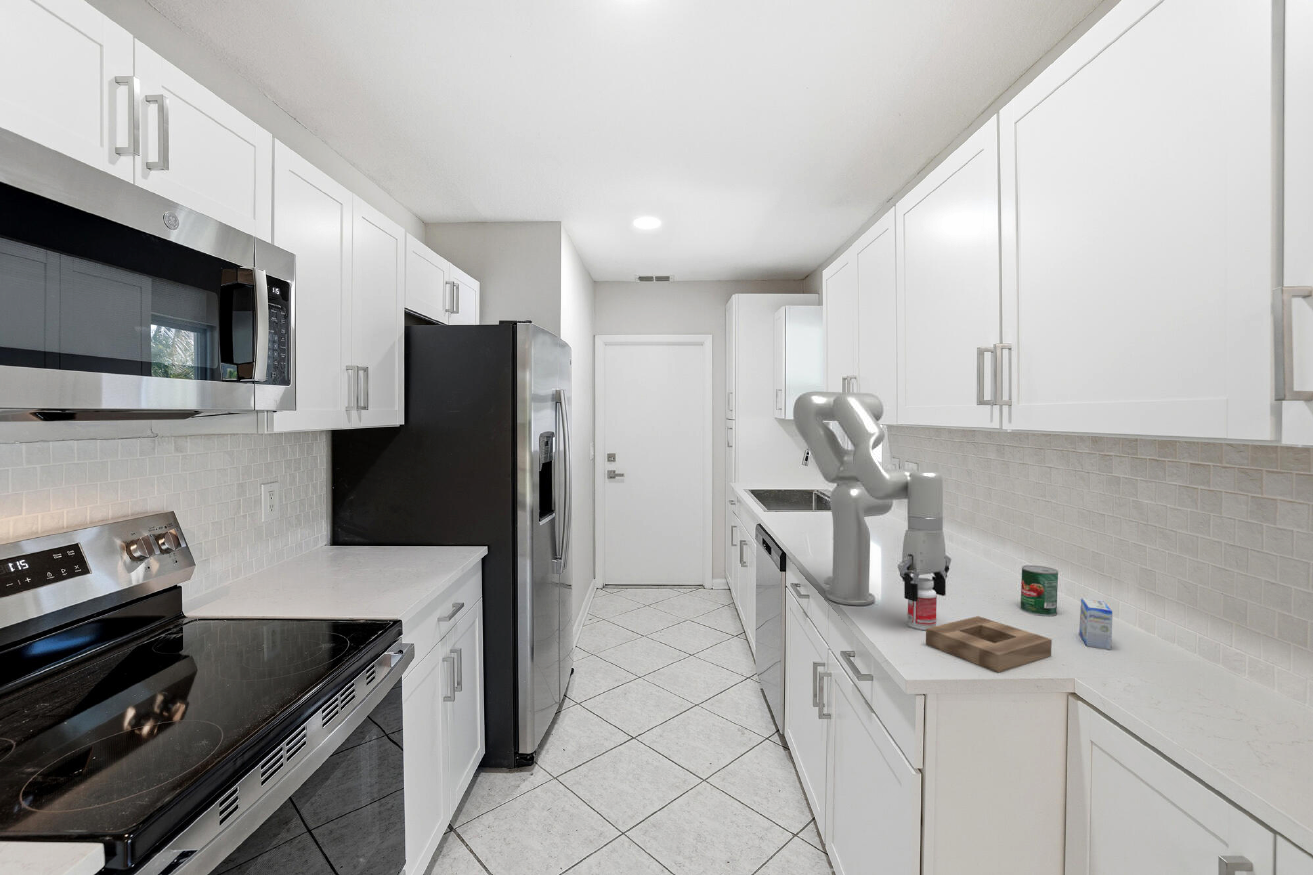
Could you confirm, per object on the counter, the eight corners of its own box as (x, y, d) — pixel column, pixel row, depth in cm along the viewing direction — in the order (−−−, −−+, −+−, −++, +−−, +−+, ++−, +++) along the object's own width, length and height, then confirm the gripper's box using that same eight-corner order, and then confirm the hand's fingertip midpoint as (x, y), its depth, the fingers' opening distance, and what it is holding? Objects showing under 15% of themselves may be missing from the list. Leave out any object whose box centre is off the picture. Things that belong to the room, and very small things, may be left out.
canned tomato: (1015, 610, 152) (1016, 567, 152) (1027, 604, 157) (1028, 563, 156) (1050, 618, 146) (1051, 574, 145) (1061, 612, 151) (1063, 569, 150)
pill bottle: (941, 627, 138) (942, 581, 138) (926, 632, 135) (927, 584, 134) (917, 620, 143) (918, 575, 143) (901, 624, 140) (902, 578, 140)
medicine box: (1078, 634, 135) (1080, 597, 134) (1102, 638, 133) (1104, 600, 132) (1086, 646, 128) (1087, 607, 127) (1111, 650, 126) (1113, 610, 125)
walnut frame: (925, 644, 128) (926, 628, 128) (977, 631, 136) (978, 616, 136) (998, 672, 114) (998, 654, 114) (1051, 655, 122) (1051, 639, 122)
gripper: (935, 519, 145) (935, 588, 145) (886, 524, 137) (886, 598, 137) (963, 523, 139) (963, 596, 139) (913, 529, 131) (913, 606, 131)
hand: (925, 597), depth 138 cm, fingers open, 9 cm apart
